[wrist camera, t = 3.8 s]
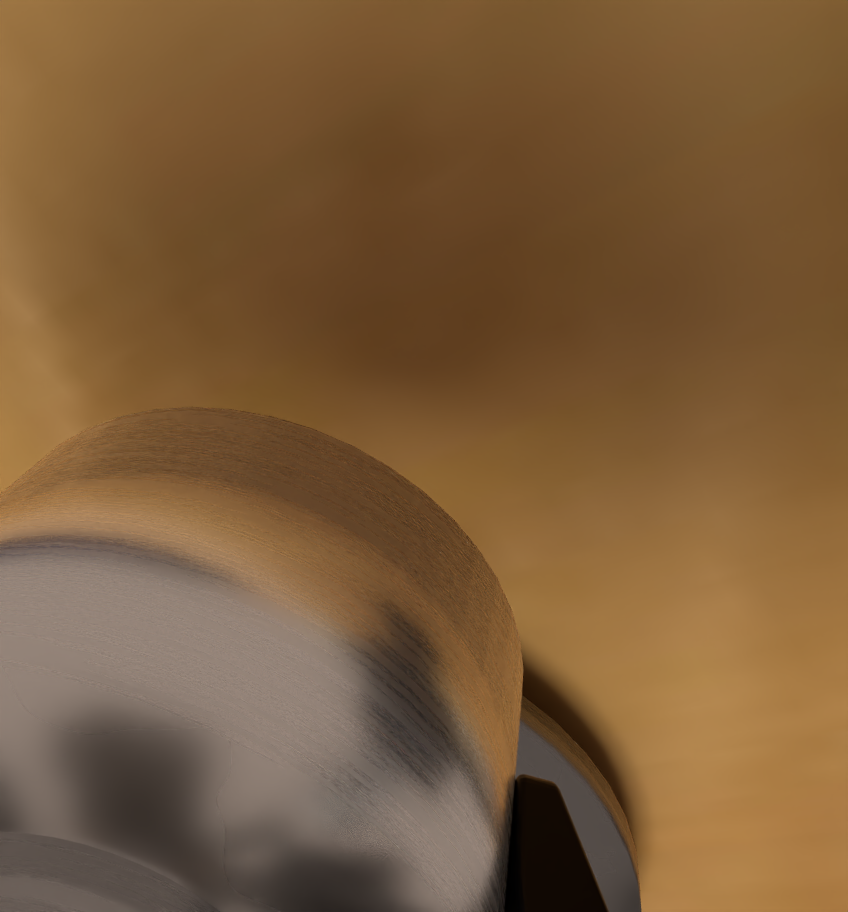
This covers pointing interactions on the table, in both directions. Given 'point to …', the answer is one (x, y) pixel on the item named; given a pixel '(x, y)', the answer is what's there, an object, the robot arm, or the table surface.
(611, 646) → the table surface
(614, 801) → the turntable
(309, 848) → the cap
